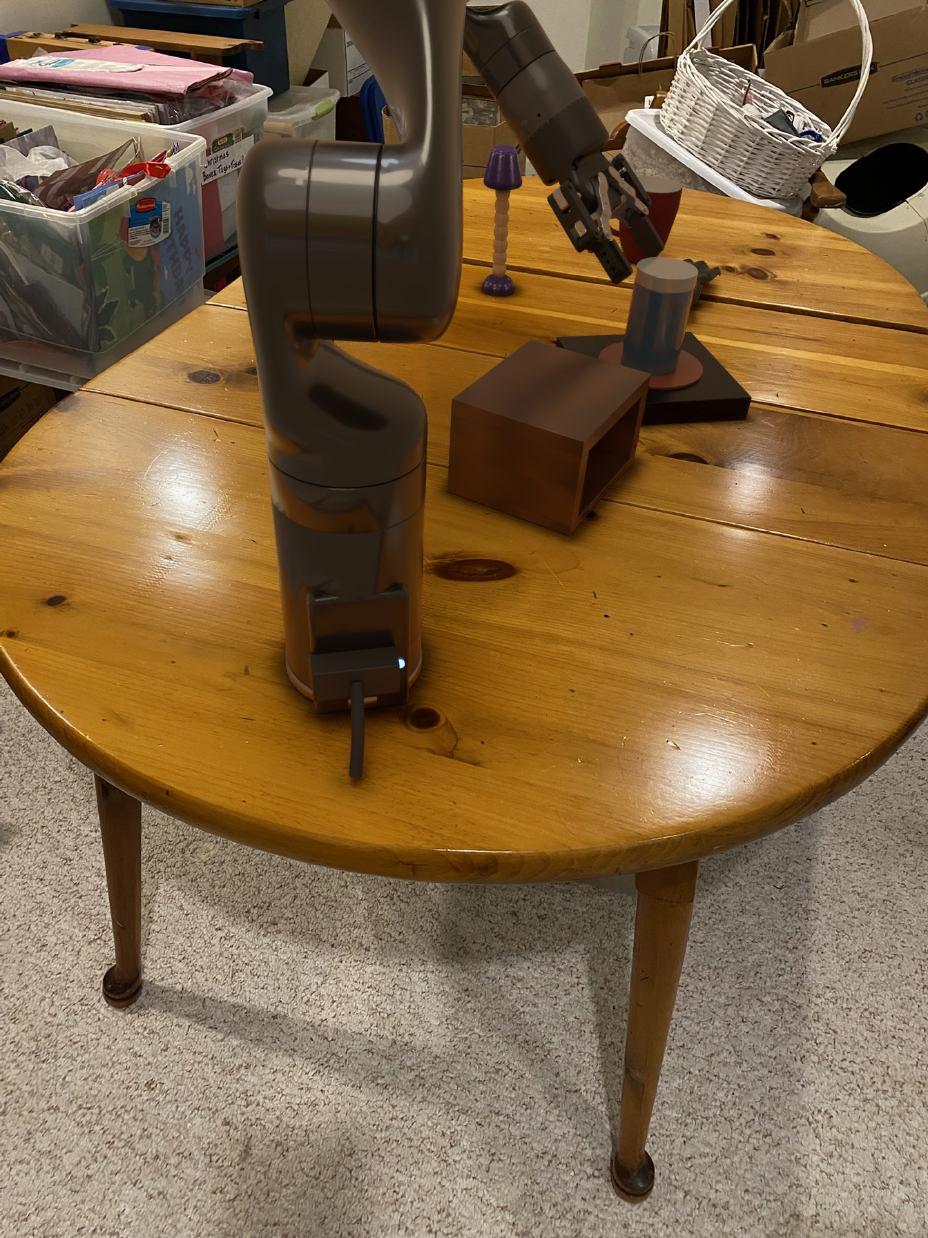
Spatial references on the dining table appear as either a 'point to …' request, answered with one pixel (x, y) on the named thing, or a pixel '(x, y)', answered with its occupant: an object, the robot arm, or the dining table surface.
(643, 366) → the jar
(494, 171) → the toy lamp
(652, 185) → the mug
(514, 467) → the shelf
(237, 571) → the dining table surface
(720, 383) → the hot plate
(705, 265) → the statue
